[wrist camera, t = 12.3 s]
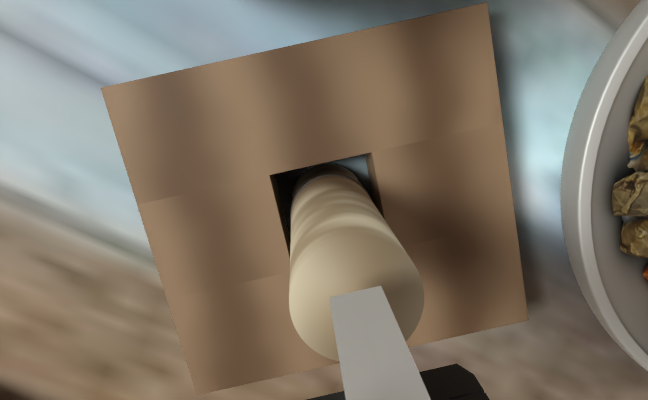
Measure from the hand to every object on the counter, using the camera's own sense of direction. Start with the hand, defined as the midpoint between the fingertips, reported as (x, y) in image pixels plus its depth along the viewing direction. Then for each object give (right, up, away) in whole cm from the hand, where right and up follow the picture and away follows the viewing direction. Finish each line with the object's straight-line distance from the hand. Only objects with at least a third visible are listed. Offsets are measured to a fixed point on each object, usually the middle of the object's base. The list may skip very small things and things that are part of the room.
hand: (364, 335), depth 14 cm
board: (-1, +4, +17) cm, 17 cm away
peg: (-1, +4, +17) cm, 17 cm away
